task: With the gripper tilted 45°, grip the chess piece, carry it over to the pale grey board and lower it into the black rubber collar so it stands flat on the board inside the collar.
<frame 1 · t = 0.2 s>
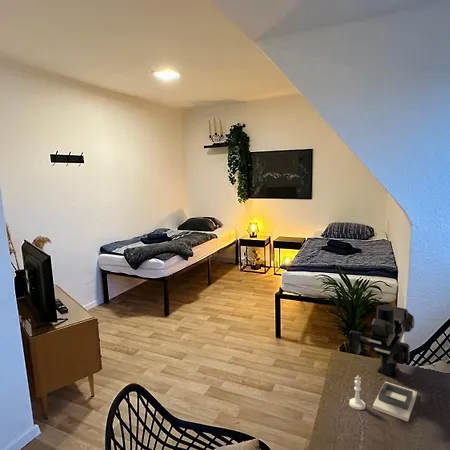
hand: (370, 357, 104), 17 cm above the table, tool horizontal, fingers open, 9 cm apart
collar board: (395, 401, 108), on the table
chess piece: (357, 405, 106), on the table
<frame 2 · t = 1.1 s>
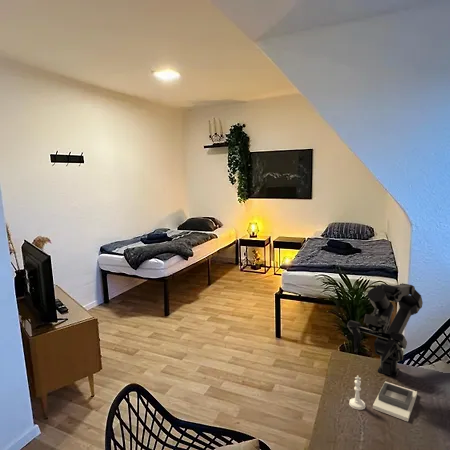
hand: (368, 356, 110), 14 cm above the table, tool tilted 45°, fingers open, 9 cm apart
nothing on the table moved.
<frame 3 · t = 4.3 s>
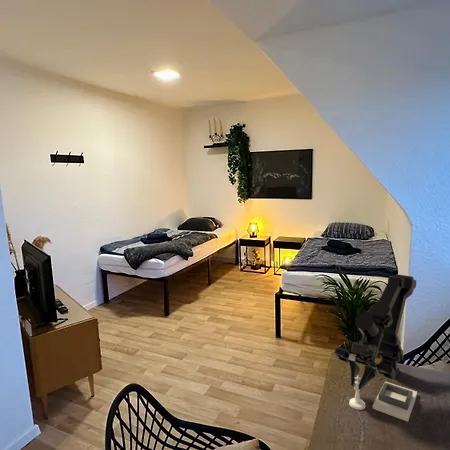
hand: (355, 387, 105), 7 cm above the table, tool tilted 45°, fingers closed on chess piece
chess piece: (357, 405, 106), on the table, touching gripper
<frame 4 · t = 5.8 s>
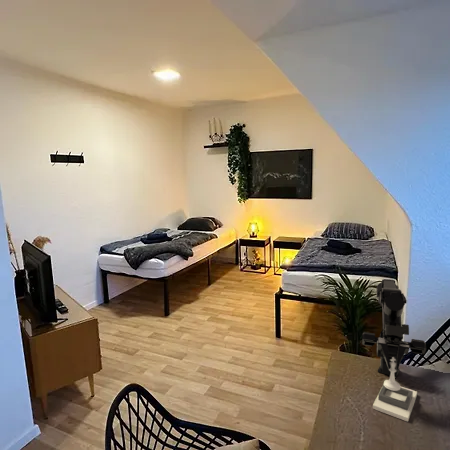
hand: (393, 369, 105), 12 cm above the table, tool tilted 45°, fingers closed on chess piece
chess piece: (391, 386, 107), point 5 cm above the table, touching gripper
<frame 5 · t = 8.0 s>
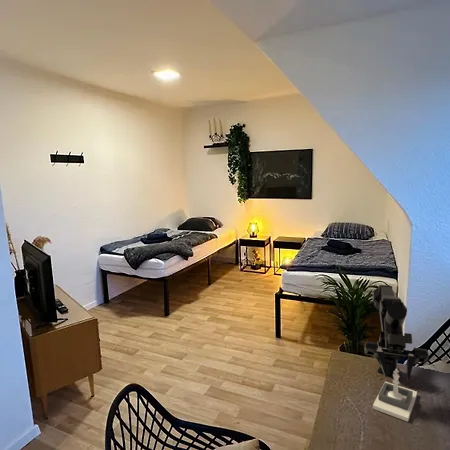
hand: (396, 378, 105), 9 cm above the table, tool tilted 45°, fingers open, 6 cm apart
chess piece: (395, 398, 108), point 1 cm above the table, touching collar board
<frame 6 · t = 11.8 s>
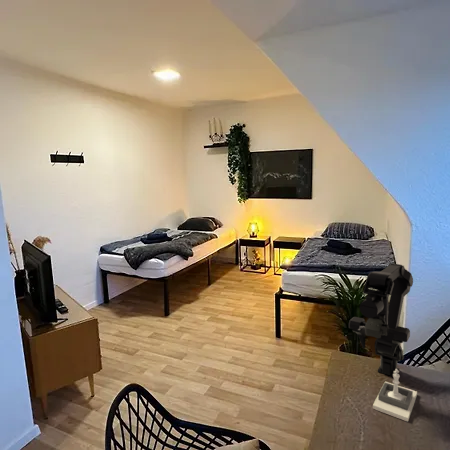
hand: (377, 351, 114), 13 cm above the table, tool pointing down, fingers open, 9 cm apart
nothing on the table moved.
at the end: chess piece 0.1 cm off-centre on the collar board, point 1.0 cm above the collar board's base; chess piece tilted 0°; the gripper is holding nothing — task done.
